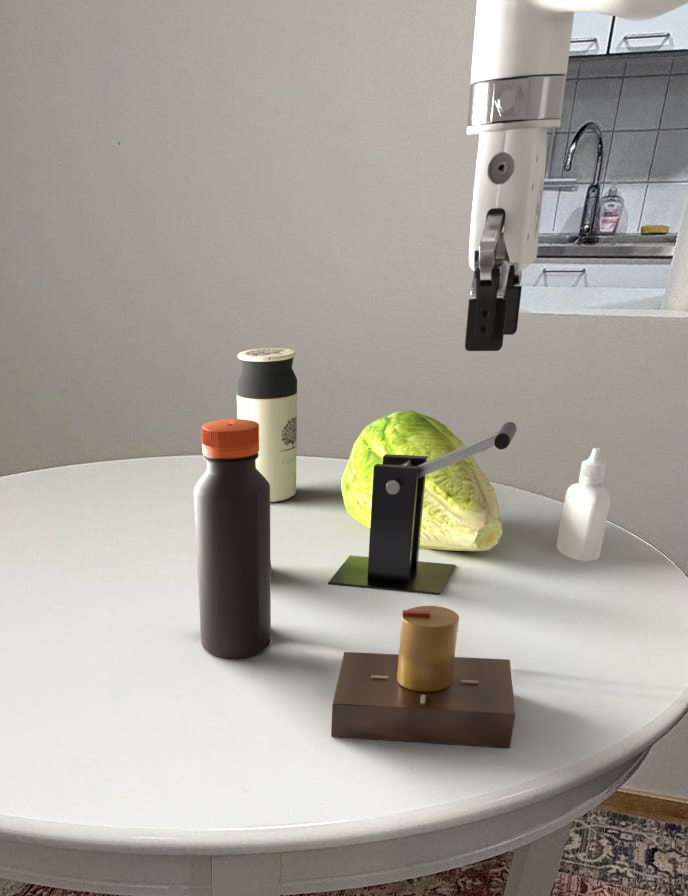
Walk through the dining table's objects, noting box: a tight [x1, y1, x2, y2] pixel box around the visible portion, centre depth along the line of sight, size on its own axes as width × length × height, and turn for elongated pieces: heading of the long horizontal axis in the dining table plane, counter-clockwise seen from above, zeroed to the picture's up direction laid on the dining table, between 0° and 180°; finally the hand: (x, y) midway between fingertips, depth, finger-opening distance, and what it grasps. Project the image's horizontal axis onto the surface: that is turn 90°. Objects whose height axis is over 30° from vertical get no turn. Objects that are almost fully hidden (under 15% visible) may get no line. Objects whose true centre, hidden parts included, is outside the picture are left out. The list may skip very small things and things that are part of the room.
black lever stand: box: [327, 454, 456, 596], centre depth 100 cm, size 12×9×13 cm
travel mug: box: [236, 347, 298, 503], centre depth 128 cm, size 8×8×18 cm
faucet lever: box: [400, 421, 518, 478], centre depth 95 cm, size 13×5×2 cm, turn 68°
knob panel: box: [330, 651, 516, 749], centre depth 79 cm, size 14×10×3 cm
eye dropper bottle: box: [556, 447, 611, 562], centre depth 104 cm, size 4×6×12 cm
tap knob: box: [397, 605, 460, 692], centre depth 76 cm, size 4×4×6 cm
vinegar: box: [193, 418, 272, 659], centre depth 87 cm, size 7×7×20 cm
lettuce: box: [340, 409, 504, 552], centre depth 111 cm, size 15×24×14 cm, turn 22°
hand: (491, 341), depth 89 cm, fingers open, 9 cm apart
